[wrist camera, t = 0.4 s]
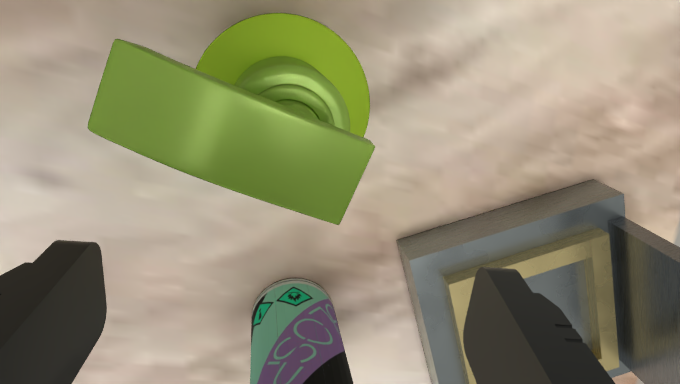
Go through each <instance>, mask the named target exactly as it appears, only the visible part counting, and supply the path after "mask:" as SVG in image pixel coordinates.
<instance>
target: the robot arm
mask: <svg viewBox="0 0 680 384" xmlns="http://www.w3.org/2000/svg"><path fill="white" fill-rule="evenodd" d="M106 310H107V307H106V295H105V285H104V275H103V265H102V255H101V250H100V247H99V245H98V244H97V243H95V242H80V241H64V240H57V241H55V242H53V243H52V244H51V245H50V246H49V247H48V248H47V249H46V250H45V251H44V252H43V253H42V254H41V255H40V256H39V257H38V258H37V259H36V260H35V261H34V262H33V263H24V264H22V265H20V266H18V267H16V268H14V269H12V270H10V271H8V272H6V273H4V274H3V275H1V276H0V384H72V382H73V380H74V379H75V377H76V375H77V374H78V372H79V370H80V369H81V367H82V365H83V364H84V362H85V360H86V359H87V357H88V356H89V354H90V352H91V351H92V349H93V347H94V346H95V344H96V342H97V341H98V339H99V337H100V336H101V333H102V331H103V328H104V324H105V320H106ZM463 344H464V351H465V354H466V357H467V360H468V362H469V365H470V367H471V370H472V373H473V375H474V378H475V380H476V383H477V384H615V383H614V381H613V380H612V378H611V377H610V376H609V374H608V373H607V372H606V370H605V369H604V368H603V366H602V365H601V364H600V362H599V361H598V359H597V358H596V357H595V355H594V354H593V353H592V351H591V350H590V349H589V347H588V346H587V344H586V343H583V339H582V338H581V336H580V335H579V334H578V332H577V331H576V329H574V328H572V324H571V323H570V321H569V320H568V319H567V317H566V316H565V314H564V313H563V312H562V310H561V309H560V308H559V307H558V306H556V305H555V304H554V303H552V302H551V301H550V300H548V299H547V298H546V297H544V296H543V295H542V294H540V293H533V292H532V291H531V289H530V288H529V286H528V285H527V283H526V282H525V280H524V279H523V278H522V276H521V275H520V273H519V272H518V271H517V270H516V269H508V268H492V267H480V268H479V269H478V271H477V273H476V276H475V280H474V284H473V288H472V293H471V297H470V302H469V306H468V310H467V315H466V319H465V324H464V330H463Z"/></svg>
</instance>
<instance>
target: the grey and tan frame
mask: <svg viewBox="0 0 680 384" xmlns="http://www.w3.org/2000/svg"><path fill="white" fill-rule="evenodd" d="M397 244H398V248H399V252H400V256H401V260H402V264H403V268H404V272H405V276H406V280H407V285H408V289H409V293H410V297H411V301H412V305H413V309H414V313H415V317H416V321H417V325H418V329H419V333H420V337H421V342H422V346H423V350H424V354H425V358H426V362H427V366H428V370H429V374H430V378H431V382H432V384H477V383H476V380H475V378H474V375H473V373H472V370H471V367H470V365H469V362H468V360H467V357H466V354H465V351H464V344H463V330H464V324H465V319H466V315H467V310H468V306H469V302H470V297H471V293H472V288H473V284H474V280H475V276H476V273H477V271H478V269H479V268H480V267H492V268H508V269H516V270H517V271H518V272H519V273H520V275H521V276H522V278H523V279H524V280H525V282H526V283H527V285H528V286H529V288H530V289H531V291H532V292H533V293H540V294H542V295H543V296H544V297H546V298H547V299H548V300H550V301H551V302H552V303H554V304H555V305H556V306H558V307H559V308H560V309H561V310H562V312H563V313H564V314H565V316H566V317H567V319H568V320H569V321H570V323H571V324H572V328H574V329H576V331H577V332H578V334H579V335H580V336H581V338H582V339H583V343H586V344H587V346H588V347H589V349H590V350H591V351H592V353H593V354H594V355H595V357H596V358H597V359H598V361H599V362H600V364H601V365H602V366H603V368H604V369H605V370H606V372H607V373H608V374H609V376H610V377H611V378H612V377H615V376H618V375H621V374H624V373H627V372H630V371H632V372H633V373H634V374H635V375H636V376H637V377H638V378H639V379H640V380H641V381H642V382H643V383H644V384H680V247H678V246H676V245H674V244H672V243H671V242H669V241H667V240H665V239H663V238H661V237H660V236H658V235H656V234H654V233H652V232H650V231H649V230H647V229H645V228H643V227H641V226H639V225H638V224H636V223H634V222H632V221H630V220H628V219H627V218H625V205H624V194H623V193H621V192H619V191H617V190H615V189H613V188H611V187H609V186H607V185H605V184H602V183H600V182H598V181H596V180H594V179H593V180H590V181H587V182H584V183H580V184H577V185H574V186H571V187H567V188H564V189H561V190H558V191H555V192H551V193H548V194H545V195H542V196H538V197H535V198H532V199H529V200H525V201H522V202H519V203H516V204H513V205H509V206H506V207H503V208H500V209H496V210H493V211H490V212H487V213H483V214H480V215H477V216H474V217H471V218H467V219H464V220H461V221H458V222H454V223H451V224H448V225H445V226H441V227H438V228H435V229H432V230H429V231H425V232H422V233H419V234H416V235H412V236H409V237H406V238H403V239H399V240H397Z"/></svg>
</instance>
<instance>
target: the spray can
mask: <svg viewBox="0 0 680 384" xmlns="http://www.w3.org/2000/svg"><path fill="white" fill-rule="evenodd" d="M250 384H353V381H352V377H351V373H350V369H349V365H348V361H347V358H346V354H345V350H344V346H343V342H342V338H341V334H340V331H339V327H338V323H337V319H336V315H335V311H334V308H333V305H332V302H331V300H330V297H329V296H328V294H327V293H326V291H325V290H324V289H323V288H322V287H320V286H319V285H317V284H316V283H314V282H312V281H309V280H306V279H299V278H290V279H285V280H281V281H278V282H276V283H274V284H272V285H270V286H269V287H267V288H266V289H265V290H264V291H263V292H262V293H261V294H260V295H259V297H258V298H257V300H256V302H255V304H254V307H253V311H252V328H251V374H250Z"/></svg>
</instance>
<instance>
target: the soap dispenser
mask: <svg viewBox="0 0 680 384" xmlns="http://www.w3.org/2000/svg"><path fill="white" fill-rule="evenodd" d="M369 111H370V97H369V89H368V84H367V80H366V77H365V74H364V71H363V69H362V67H361V64H360V62H359V61H358V59H357V57H356V56H355V54H354V53H353V51H352V50H351V49H350V47H349V46H348V45H347V44H346V43H345V42H344V41H343V40H342V39H341V38H340V37H339V36H338V35H337V34H336V33H334V32H333V31H332V30H330V29H329V28H327V27H326V26H324V25H322V24H320V23H318V22H316V21H314V20H312V19H309V18H306V17H303V16H299V15H294V14H286V13H271V14H263V15H258V16H254V17H251V18H248V19H245V20H243V21H241V22H239V23H237V24H235V25H233V26H231V27H230V28H228V29H227V30H225V31H224V32H223V33H222V34H220V35H219V36H218V37H217V38H216V39H215V40H214V41H213V42H212V43H211V44H210V46H209V47H208V48H207V49H206V51H205V52H204V54H203V55H202V57H201V59H200V61H199V63H198V65H197V67H196V69H194V68H191V67H189V66H187V65H184V64H182V63H180V62H178V61H175V60H173V59H171V58H168V57H166V56H164V55H162V54H160V53H157V52H155V51H153V50H150V49H148V48H146V47H143V46H140V45H137V44H134V43H130V42H127V41H124V40H120V39H115V40H114V42H113V45H112V48H111V51H110V54H109V57H108V60H107V63H106V67H105V70H104V73H103V76H102V79H101V83H100V86H99V89H98V92H97V96H96V99H95V102H94V106H93V109H92V112H91V115H90V119H89V122H88V129H89V130H90V131H91V132H93V133H95V134H97V135H99V136H101V137H103V138H105V139H107V140H109V141H112V142H114V143H116V144H118V145H121V146H123V147H125V148H127V149H130V150H132V151H134V152H136V153H139V154H141V155H143V156H146V157H148V158H150V159H153V160H155V161H157V162H160V163H162V164H164V165H167V166H169V167H172V168H174V169H177V170H179V171H182V172H184V173H187V174H189V175H192V176H195V177H197V178H200V179H203V180H205V181H208V182H211V183H213V184H216V185H219V186H222V187H225V188H227V189H230V190H233V191H236V192H239V193H242V194H245V195H248V196H251V197H253V198H256V199H259V200H262V201H265V202H268V203H271V204H274V205H278V206H281V207H284V208H287V209H290V210H293V211H296V212H299V213H302V214H305V215H308V216H311V217H315V218H318V219H321V220H324V221H327V222H330V223H333V224H337V225H339V224H340V222H341V220H342V218H343V216H344V214H345V211H346V209H347V207H348V205H349V203H350V201H351V198H352V196H353V194H354V192H355V190H356V188H357V185H358V183H359V181H360V179H361V177H362V175H363V172H364V170H365V168H366V166H367V164H368V162H369V159H370V157H371V155H372V153H373V151H374V148H375V146H374V145H373V143H372V142H371V141H370V140H368V139H365V138H363V137H364V134H365V131H366V128H367V124H368V119H369Z"/></svg>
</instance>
